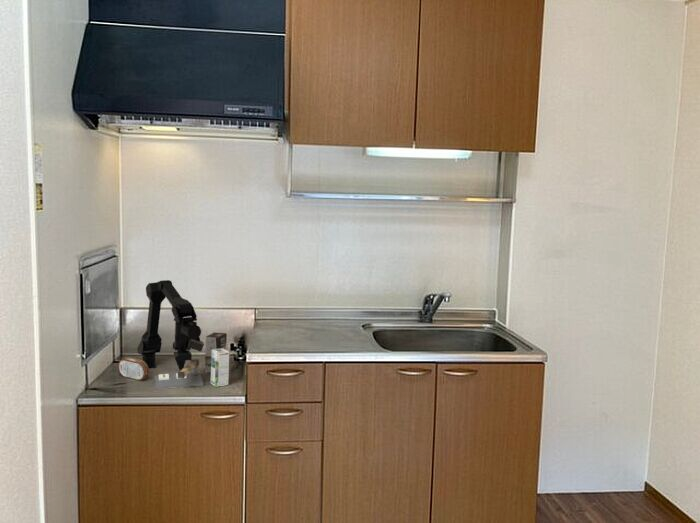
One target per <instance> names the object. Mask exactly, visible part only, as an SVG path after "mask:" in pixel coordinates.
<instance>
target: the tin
mask: <svg viewBox="0 0 700 523" xmlns="http://www.w3.org/2000/svg"><path fill="white" fill-rule="evenodd" d="M118 371H119V374H120V375H121V376H122V377H124V378H126V377H127V378H126V379H130V378H131V379H130V380H134V379H136V380H135V381H139V380H140V381H142V380H146V379H147V378H148V377H149V374H150V368H148V365H147V364H146V363H145V362H144V361H143V360H142V359H138V358H134V357H130V356H126V357H124V358H122V359H120V360H119V361H118Z"/></svg>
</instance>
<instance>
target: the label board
mask: <svg viewBox="0 0 700 523" xmlns="http://www.w3.org/2000/svg"><path fill="white" fill-rule="evenodd" d="M154 385H155V386H156V387H155V389H156V388H168V387H183V388H190V387H189V386H196V387H204V381H203V378H202V375H201V372H199V366H195V367H194V368H193V369H192V370H191V371H190V372H189V373H188V374H187V375H186V376H185V377H184V378H178V372H176V373H175V374H174V373H173V374H170V373H163V374H162V373H160V374H158V375H154ZM187 386H188V387H187Z"/></svg>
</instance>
